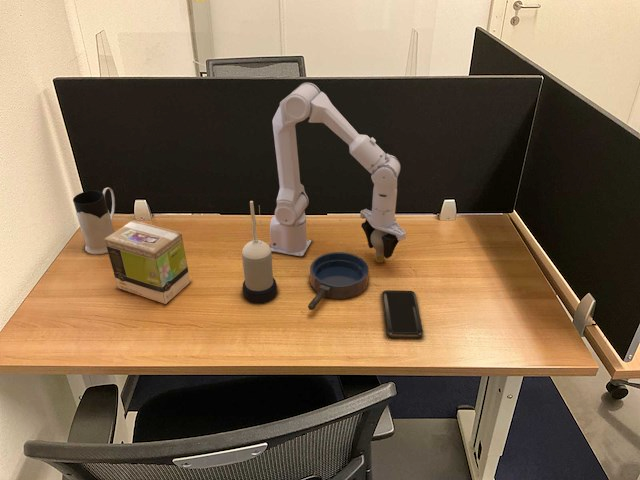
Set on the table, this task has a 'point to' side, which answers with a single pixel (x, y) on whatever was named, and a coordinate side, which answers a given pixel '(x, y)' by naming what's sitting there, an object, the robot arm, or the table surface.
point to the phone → (401, 314)
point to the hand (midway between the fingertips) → (380, 251)
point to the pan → (339, 274)
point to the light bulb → (378, 244)
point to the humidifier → (258, 268)
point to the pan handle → (319, 296)
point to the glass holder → (94, 219)
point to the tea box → (148, 260)
